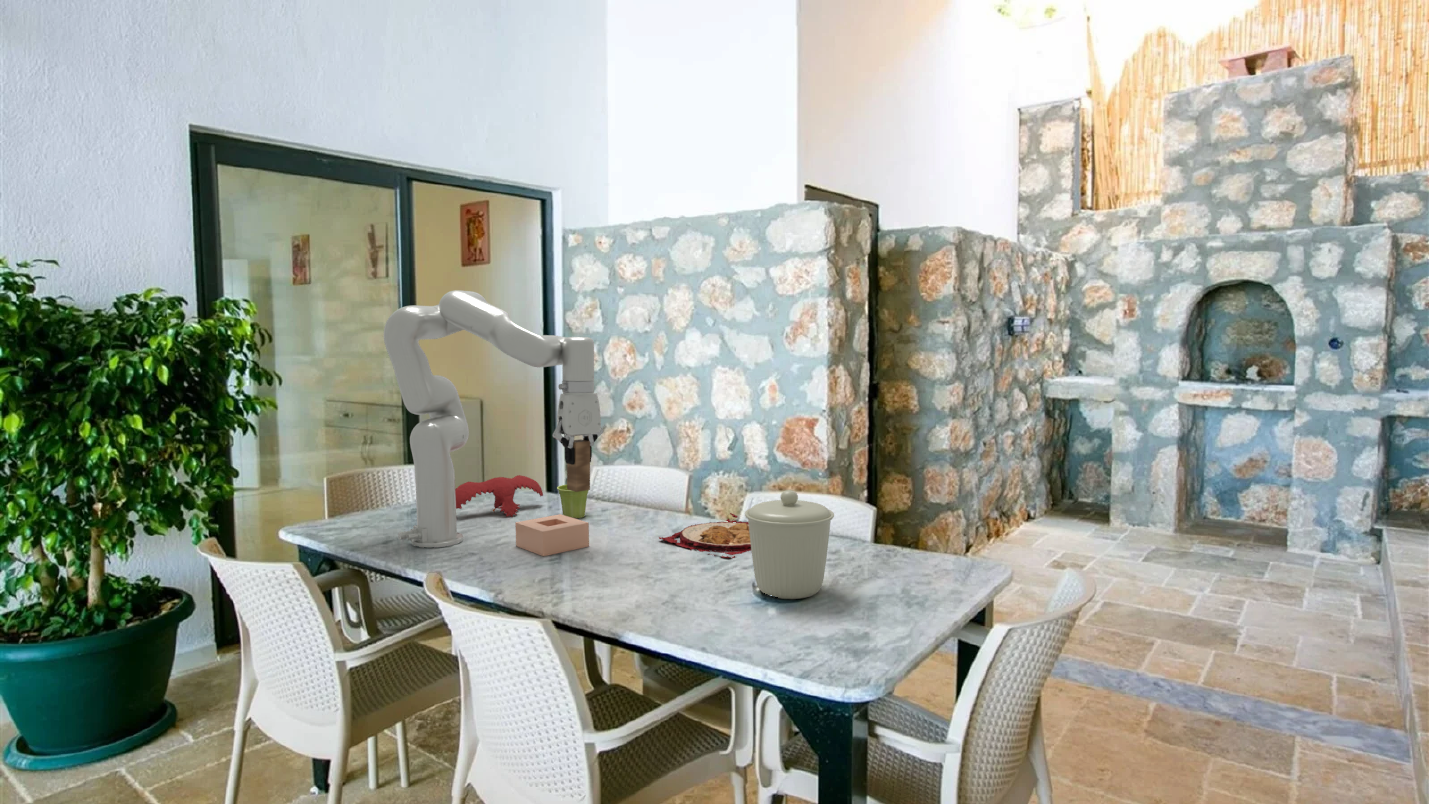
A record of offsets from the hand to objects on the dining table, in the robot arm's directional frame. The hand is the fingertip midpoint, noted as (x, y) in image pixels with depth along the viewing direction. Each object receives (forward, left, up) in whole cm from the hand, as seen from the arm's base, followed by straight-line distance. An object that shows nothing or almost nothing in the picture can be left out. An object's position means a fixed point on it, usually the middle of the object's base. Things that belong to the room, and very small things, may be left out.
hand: (578, 462), depth 206 cm
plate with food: (+32, -19, -22) cm, 44 cm away
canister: (+12, -58, -22) cm, 63 cm away
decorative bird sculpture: (+5, +49, -22) cm, 54 cm away
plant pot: (+18, +31, -22) cm, 42 cm away
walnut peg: (0, 0, -7) cm, 7 cm away
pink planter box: (-4, +7, -21) cm, 23 cm away
